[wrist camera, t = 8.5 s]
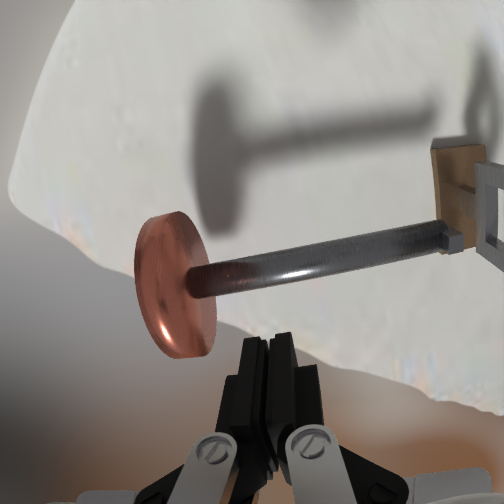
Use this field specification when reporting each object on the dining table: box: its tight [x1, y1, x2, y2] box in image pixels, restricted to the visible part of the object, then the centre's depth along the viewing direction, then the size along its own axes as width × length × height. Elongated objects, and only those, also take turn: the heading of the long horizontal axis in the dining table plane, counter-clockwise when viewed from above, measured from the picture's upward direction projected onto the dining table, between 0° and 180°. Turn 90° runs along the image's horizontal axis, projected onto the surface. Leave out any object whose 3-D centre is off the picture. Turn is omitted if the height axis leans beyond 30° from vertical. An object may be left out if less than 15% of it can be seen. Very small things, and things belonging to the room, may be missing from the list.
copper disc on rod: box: [134, 211, 464, 359], centre depth 21 cm, size 10×21×10 cm, turn 103°
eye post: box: [430, 144, 504, 272], centre depth 21 cm, size 10×6×12 cm, turn 13°
